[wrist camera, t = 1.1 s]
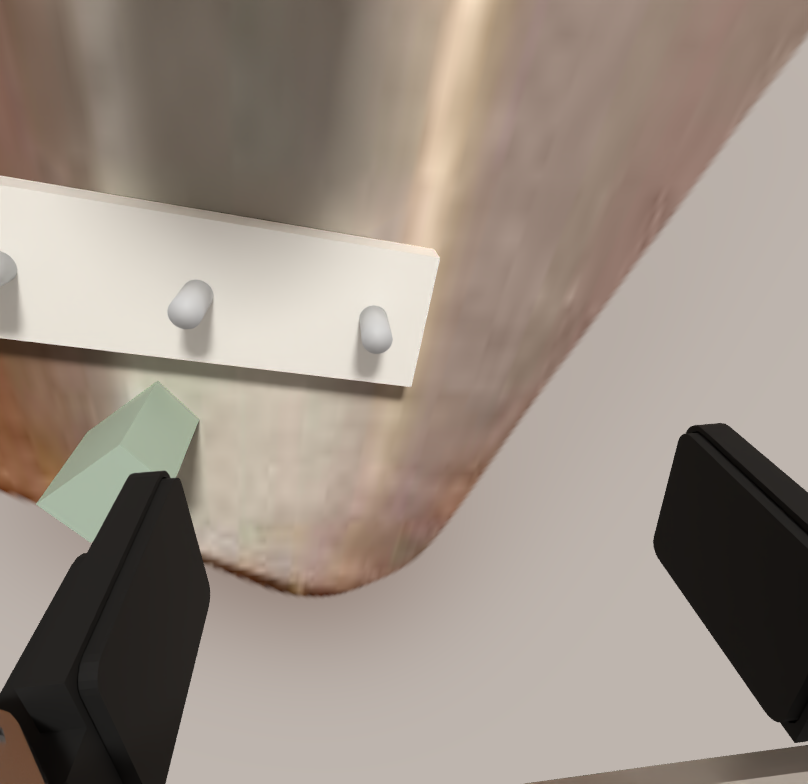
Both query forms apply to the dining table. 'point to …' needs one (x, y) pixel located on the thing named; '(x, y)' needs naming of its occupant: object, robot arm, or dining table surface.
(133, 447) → the tall sage green block
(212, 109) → the dining table surface
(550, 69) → the dining table surface
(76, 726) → the robot arm
